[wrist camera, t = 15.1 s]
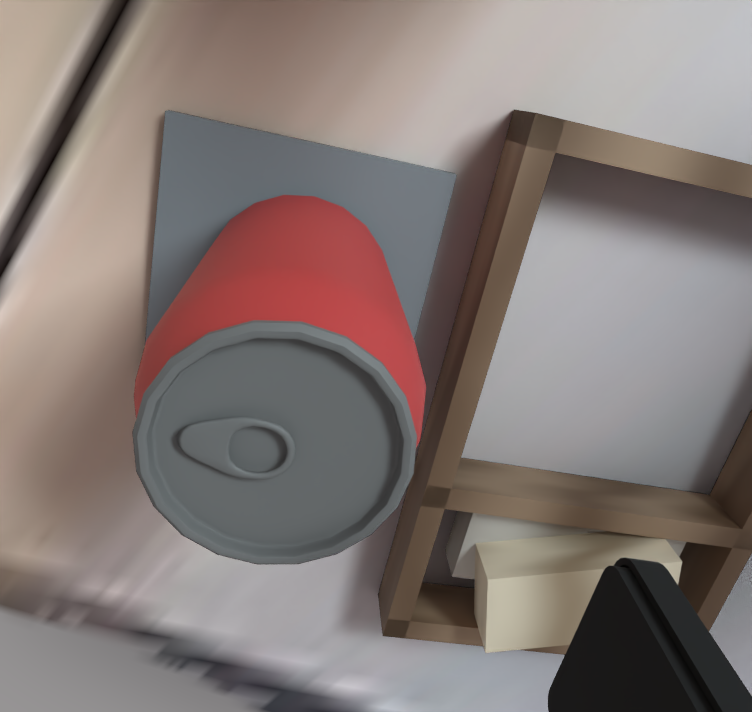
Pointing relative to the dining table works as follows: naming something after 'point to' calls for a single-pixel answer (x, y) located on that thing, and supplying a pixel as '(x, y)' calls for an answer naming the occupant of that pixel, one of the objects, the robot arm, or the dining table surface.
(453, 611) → the slot rack
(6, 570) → the dining table surface
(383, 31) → the dining table surface
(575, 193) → the dining table surface
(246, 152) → the slate pad
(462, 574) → the offcut lower
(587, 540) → the offcut upper
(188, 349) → the beer can
